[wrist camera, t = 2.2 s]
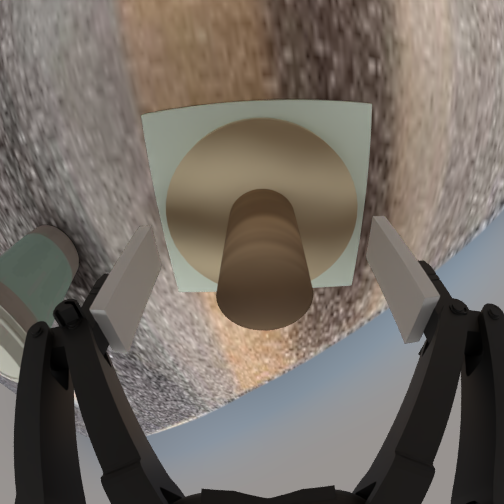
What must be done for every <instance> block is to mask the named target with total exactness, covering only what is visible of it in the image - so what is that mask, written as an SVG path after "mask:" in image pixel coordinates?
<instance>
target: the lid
mask: <svg viewBox="0 0 504 504" xmlns="http://www.w3.org/2000/svg"><path fill="white" fill-rule="evenodd" d="M357 207H358V204H357V194H356V190H355V186H354V182H353V180H352V177H351V175H350V172H349V170H348V169H347V167H346V165H345V164H344V162H343V161H342V159H341V158H340V157H339V156H338V154H337V153H336V152H335V151H334V150H333V149H332V148H331V147H330V146H329V145H328V144H327V143H326V142H325V141H324V140H323V139H321V138H320V137H319V136H318V135H316V134H315V133H313V132H312V131H310V130H308V129H306V128H304V127H302V126H300V125H298V124H295V123H292V122H289V121H286V120H281V119H275V118H249V119H242V120H238V121H234V122H231V123H228V124H226V125H223V126H221V127H219V128H217V129H215V130H213V131H212V132H210V133H208V134H207V135H206V136H204V137H203V138H202V139H201V140H199V141H198V142H197V143H196V144H195V145H194V146H193V147H192V148H191V150H190V151H189V152H188V153H187V154H186V155H185V156H184V158H183V159H182V161H181V162H180V164H179V165H178V167H177V168H176V170H175V172H174V174H173V176H172V178H171V181H170V184H169V188H168V191H167V198H166V218H167V225H168V228H169V231H170V235H171V237H172V239H173V241H174V244H175V246H176V247H177V249H178V250H179V252H180V254H181V255H182V256H183V257H184V259H185V260H186V261H187V262H188V263H189V264H190V265H191V266H192V267H193V268H194V269H195V270H196V271H198V272H199V273H200V274H202V275H203V276H204V277H206V278H208V279H209V280H211V281H213V282H215V283H217V284H218V286H217V293H216V298H217V303H218V306H219V308H220V310H221V311H222V313H223V314H224V315H225V316H226V317H227V318H228V319H229V320H231V321H232V322H234V323H235V324H237V325H240V326H242V327H245V328H248V329H253V330H274V329H279V328H283V327H286V326H288V325H290V324H292V323H294V322H296V321H297V320H299V319H300V318H301V317H302V316H303V315H304V314H305V313H306V312H307V311H308V309H309V307H310V306H311V303H312V299H313V288H312V284H311V280H313V279H315V278H317V277H318V276H320V275H321V274H322V273H324V272H325V271H326V270H328V269H329V268H330V267H331V266H332V265H333V264H334V263H335V262H336V261H337V260H338V258H339V257H340V256H341V255H342V253H343V252H344V250H345V249H346V247H347V245H348V243H349V241H350V239H351V237H352V234H353V231H354V229H355V224H356V219H357Z"/></svg>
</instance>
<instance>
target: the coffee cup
mask: <svg viewBox="0 0 504 504" xmlns="http://www.w3.org/2000/svg"><path fill="white" fill-rule="evenodd" d="M78 267H79V257H78V253H77V251H76V248H75V246H74V245H73V243H72V242H71V240H70V239H69V238H68V236H67V235H66V234H64V233H63V232H62V231H61V230H59V229H58V228H56V227H54V226H50V225H41V226H39V227H37V228H36V229H34V230H33V231H31V232H30V233H29V234H27V235H26V236H25V237H23V238H22V239H21V240H19V241H18V242H17V243H15V244H14V245H13V246H12V247H10V248H9V249H8V250H7V251H5V252H4V253H3V254H2V255H0V375H2V376H4V377H6V378H7V379H9V380H12V381H15V382H18V380H19V373H20V366H21V360H22V355H23V349H24V344H25V339H26V335H27V332H28V330H29V328H30V327H31V326H32V325H33V324H35V323H37V322H39V321H44V322H46V323H47V324H48V326H49V327H50V328H51V326H52V324H53V322H54V319H55V318H54V317H53V311H54V309H55V307H56V306H57V305H58V304H59V303H61V302H62V301H63V299H64V297H65V295H66V293H67V291H68V288H69V286H70V284H71V282H72V280H73V278H74V276H75V274H76V272H77V270H78Z"/></svg>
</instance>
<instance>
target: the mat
mask: <svg viewBox="0 0 504 504" xmlns="http://www.w3.org/2000/svg"><path fill="white" fill-rule="evenodd" d="M141 118H142V125H143V131H144V137H145V144H146V149H147V155H148V161H149V166H150V171H151V177H152V182H153V187H154V192H155V196H156V201H157V206H158V210H159V215H160V219H161V224H162V228H163V232H164V236H165V241H166V245H167V249H168V253H169V257H170V260H171V264H172V268H173V272H174V276H175V279H176V283H177V287H178V290H179V292H217V286H218V284H217V283H215V282H213V281H211V280H209V279H208V278H206V277H204V276H203V275H202V274H200V273H199V272H198V271H196V270H195V269H194V268H193V267H192V266H191V265H190V264H189V263H188V262H187V261H186V260H185V259H184V257H183V256H182V255H181V254H180V252H179V250H178V249H177V247H176V246H175V244H174V241H173V239H172V237H171V235H170V231H169V228H168V225H167V218H166V198H167V191H168V188H169V184H170V181H171V178H172V176H173V174H174V172H175V170H176V168H177V167H178V165H179V164H180V162H181V161H182V159H183V158H184V156H185V155H186V154H187V153H188V152H189V151H190V150H191V148H192V147H193V146H194V145H195V144H196V143H197V142H198V141H199V140H201V139H202V138H203V137H204V136H206V135H207V134H208V133H210V132H212V131H213V130H215V129H217V128H219V127H221V126H223V125H226V124H228V123H231V122H234V121H238V120H242V119H249V118H275V119H281V120H286V121H289V122H292V123H295V124H298V125H300V126H302V127H304V128H306V129H308V130H310V131H312V132H313V133H315V134H316V135H318V136H319V137H320V138H321V139H323V140H324V141H325V142H326V143H327V144H328V145H329V146H330V147H331V148H332V149H333V150H334V151H335V152H336V153H337V154H338V156H339V157H340V158H341V159H342V161H343V162H344V164H345V165H346V167H347V169H348V170H349V172H350V175H351V177H352V180H353V182H354V186H355V190H356V194H357V204H358V207H357V219H356V224H355V229H354V231H353V234H352V237H351V239H350V241H349V243H348V245H347V247H346V249H345V250H344V252H343V253H342V255H341V256H340V257H339V258H338V260H337V261H336V262H335V263H334V264H333V265H332V266H331V267H330V268H329V269H328V270H326V271H325V272H324V273H322V274H321V275H320V276H318V277H317V278H315V279H313V280H311V284H312V288H318V287H334V286H350V285H352V280H353V275H354V270H355V264H356V258H357V252H358V246H359V240H360V233H361V227H362V219H363V212H364V204H365V196H366V187H367V177H368V166H369V153H370V138H371V118H372V104H369V103H363V102H351V101H335V100H304V99H285V100H253V101H237V102H225V103H214V104H205V105H196V106H189V107H182V108H175V109H168V110H162V111H157V112H151V113H146V114H143V115H141Z"/></svg>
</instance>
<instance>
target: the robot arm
mask: <svg viewBox="0 0 504 504" xmlns="http://www.w3.org/2000/svg"><path fill="white" fill-rule="evenodd" d="M366 259H367V261H368V263H369V265H370V267H371V269H372V271H373V273H374V275H375V277H376V279H377V281H378V284H379V286H380V288H381V290H382V292H383V294H384V296H385V299H386V301H387V303H388V305H389V308H390V310H391V312H392V314H393V317H394V319H395V321H396V323H397V326H398V328H399V330H400V333H401V336H402V338H403V340H404V343H405V344H406V343H412V342H417V341H419V340H420V338H421V336H422V334H423V332H424V334H425V336H426V338H427V339H426V341H425V343H424V345H423V347H422V349H421V350H420V352H419V355H420V358H419V361H418V364H417V367H416V369H415V372H414V375H413V378H412V380H411V383H410V386H409V388H408V391H407V393H406V396H405V398H404V401H403V403H402V405H401V407H400V410H399V412H398V414H397V417H396V419H395V421H394V423H393V425H392V427H391V429H390V431H389V433H388V435H387V438H386V440H385V441H384V443H383V445H382V447H381V449H380V451H379V453H378V455H377V457H376V458H375V460H374V462H373V464H372V466H371V467H370V469H369V471H368V472H367V474H366V475H365V476H364V477H363V478H362V480H361V481H360V482H359V484H358V485H357V487H356V488H355V490H354V491H353V493H350V492H347V491H342V490H335V487H334V485H333V486H327V487H318V488H309V489H301V490H298V491H295V492H292V493H288V494H285V495H281V496H277V497H273V498H262V497H257V496H252V495H248V494H244V493H240V492H236V491H225V490H210V489H202V492H201V493H198V494H194V495H190V496H187V497H185V496H184V494H183V493H182V492H181V490H180V489H179V488H178V486H177V485H176V484H175V483H174V482H173V481H172V480H171V479H170V477H169V476H168V474H167V473H166V471H165V469H164V468H163V466H162V464H161V463H160V461H159V459H158V458H157V456H156V454H155V452H154V451H153V449H152V447H151V445H150V444H149V442H148V440H147V438H146V436H145V434H144V432H143V430H142V428H141V426H140V425H139V423H138V421H137V419H136V417H135V414H134V412H133V410H132V408H131V406H130V404H129V402H128V400H127V397H126V395H125V393H124V391H123V388H122V386H121V384H120V381H119V379H118V377H117V374H116V372H115V369H114V367H113V364H112V362H111V359H110V356H109V355H108V353H107V351H106V350H107V348H108V346H109V345H110V347H111V348H112V350H113V352H116V353H126V354H128V353H129V350H130V347H131V344H132V341H133V339H134V336H135V333H136V330H137V328H138V325H139V322H140V320H141V317H142V314H143V312H144V309H145V307H146V304H147V302H148V299H149V296H150V294H151V291H152V289H153V286H154V284H155V282H156V279H157V277H158V274H159V272H160V270H161V267H162V263H161V259H160V256H159V252H158V248H157V245H156V241H155V237H154V233H153V229H152V225H151V226H139V228H138V229H137V231H136V232H135V234H134V235H133V237H132V238H131V240H130V241H129V243H128V245H127V246H126V248H125V249H124V251H123V252H122V254H121V256H120V257H119V259H118V260H117V262H116V264H115V265H114V267H113V269H112V270H111V272H110V274H104V275H103V276H102V277H100V278H99V279H98V280H97V282H96V283H95V285H94V287H93V289H92V290H91V292H90V295H88V297H87V298H86V300H85V302H84V304H83V305H82V307H80V305H79V303H78V302H77V300H75V299H67V300H64V301H62V302H61V303H59V304H58V305H57V306H56V307H55V309H54V311H53V317H54V318H55V320H56V321H57V323H58V325H59V327H55V328H50V327H49V326H48V324H47V323H46V322H44V321H39V322H37V323H35V324H33V325H32V326H31V327H30V328H29V330H28V332H27V335H26V339H25V344H24V349H23V355H22V360H21V366H20V373H19V380H18V388H17V397H16V408H15V423H14V469H15V484H16V499H15V504H86V501H85V496H84V490H83V485H82V480H81V473H80V467H79V459H78V451H77V441H76V429H75V413H74V390H75V394H76V397H77V401H78V404H79V408H80V411H81V414H82V417H83V420H84V423H85V426H86V429H87V432H88V435H89V438H90V440H91V443H92V445H93V448H94V451H95V453H96V456H97V458H98V460H99V463H100V465H101V468H102V470H103V476H102V477H101V483H102V486H103V488H104V490H105V492H106V494H107V496H108V498H109V500H110V502H111V504H421V503H422V501H423V499H424V497H425V495H426V493H427V491H428V489H429V486H430V484H431V482H432V479H433V477H434V474H435V468H434V466H433V461H434V459H435V456H436V453H437V451H438V448H439V445H440V443H441V440H442V437H443V434H444V431H445V428H446V425H447V421H448V419H449V415H450V412H451V408H452V404H453V401H454V397H455V393H456V389H457V385H458V380H459V376H460V372H461V425H460V439H459V450H458V459H457V467H456V473H455V479H454V485H453V491H452V497H451V504H504V313H503V311H502V310H501V309H500V308H499V307H497V306H496V305H494V304H486V305H484V307H483V309H482V310H481V312H479V311H471V310H469V309H468V307H467V305H465V304H464V303H463V302H462V301H460V300H458V299H454V298H452V297H451V296H450V294H449V292H448V291H447V289H446V288H445V287H444V285H443V283H442V282H441V281H440V280H439V277H438V276H437V275H436V273H435V271H434V270H433V269H432V267H431V266H430V265H429V264H427V263H426V262H425V261H417V259H416V258H415V256H414V255H413V253H412V252H411V251H410V249H409V248H408V246H407V245H406V244H405V242H404V241H403V239H402V238H401V237H400V235H399V234H398V233H397V231H396V230H395V229H394V227H393V226H392V225H391V223H390V222H389V221H388V219H387V218H386V217H385V216H373V217H372V223H371V230H370V236H369V242H368V247H367V253H366Z"/></svg>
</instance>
